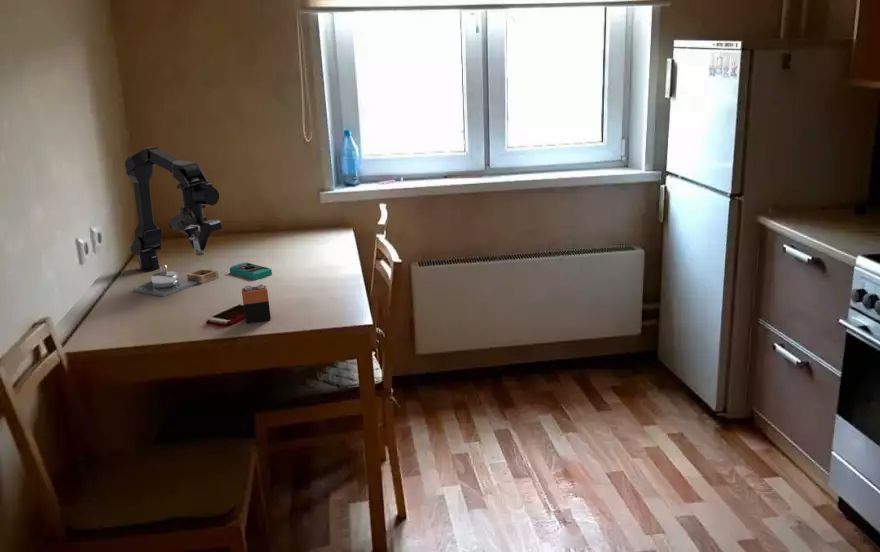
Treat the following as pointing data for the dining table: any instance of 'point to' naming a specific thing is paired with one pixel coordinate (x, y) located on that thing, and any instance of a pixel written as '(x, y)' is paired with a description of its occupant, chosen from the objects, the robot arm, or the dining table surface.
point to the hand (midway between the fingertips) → (199, 249)
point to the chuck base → (166, 291)
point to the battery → (256, 303)
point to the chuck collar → (165, 278)
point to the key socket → (203, 275)
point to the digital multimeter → (250, 271)
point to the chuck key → (196, 245)
